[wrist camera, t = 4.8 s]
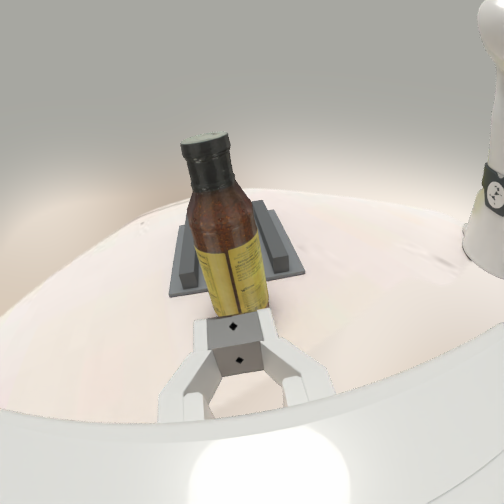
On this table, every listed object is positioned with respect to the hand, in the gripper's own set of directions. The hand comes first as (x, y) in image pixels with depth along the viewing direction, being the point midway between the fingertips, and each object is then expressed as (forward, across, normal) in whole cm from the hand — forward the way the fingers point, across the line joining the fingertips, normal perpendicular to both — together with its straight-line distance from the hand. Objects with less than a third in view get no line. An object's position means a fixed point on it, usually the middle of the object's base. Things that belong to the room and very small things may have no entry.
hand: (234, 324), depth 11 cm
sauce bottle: (+16, 0, -15) cm, 22 cm away
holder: (+31, 0, -15) cm, 35 cm away
